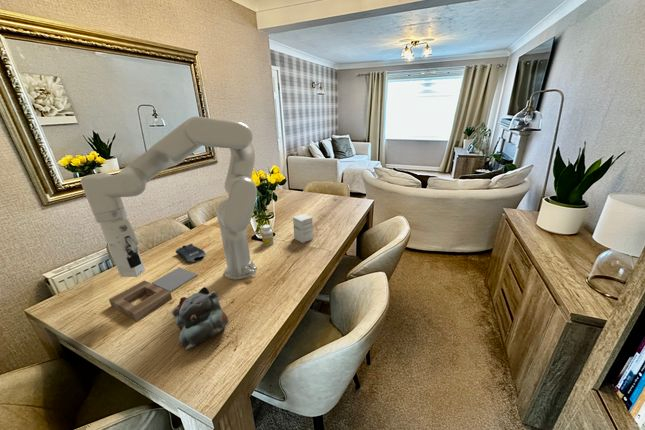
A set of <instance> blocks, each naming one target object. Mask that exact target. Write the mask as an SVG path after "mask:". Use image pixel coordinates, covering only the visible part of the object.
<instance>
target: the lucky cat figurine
mask: <svg viewBox="0 0 645 430" xmlns="http://www.w3.org/2000/svg"><path fill="white" fill-rule="evenodd" d="M178 302H179V303H178V305H177V306H176V307H174V309H172V311H171V313H172V316H173V317H175V318H174V322H175V325H176V326H177V327H178V328H179V332H180V333H179V336H178V342H179V343H180V345H182V346H183V347H185V348H184V350H189V349H191V348H193V347H196V345H198V344H200V343H202V342H204V341H206V340H208V339H210V338H212V337H214V336H215V335H217V334H218V333H220V332H221V331H222V330H224V328H225V327H226V326H227V325H228V323H229V319H228V316H227V314H226V313H225V312H224V311H223V309H222V307H221V303H220V300H219V295H218V293H217V292H216V291H215V290H214V291H211V292H210V290H209V289H208V288H207V287H205V286H203V287H202V288H201V289H200V290H198V292H195V293H193V294H192V295H190V296H188V297H186V296H182V297H181V298H180V299H179V301H178Z"/></svg>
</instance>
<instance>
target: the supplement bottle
mask: <svg viewBox="0 0 645 430" xmlns="http://www.w3.org/2000/svg"><path fill="white" fill-rule="evenodd" d="M261 229H262V230H261V238H262V245H263V246H265V247H267V246H271V245H273V244H274V234H273V233H274V232H273V230H272V227H271V224H264V225H262V227H261Z"/></svg>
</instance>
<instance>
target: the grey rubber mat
mask: <svg viewBox="0 0 645 430" xmlns="http://www.w3.org/2000/svg"><path fill="white" fill-rule="evenodd" d="M198 276H199V275H198V273H195V272H193V271H190V270H187V269H185V268H183V267H177V268H175V269H173V270H172V271H170V272H168V273H166V274H164V275H163V276H161V277H159V278H158V279H155V280H154V281H151V284H154V285H156V286H158V287H160V288H162V289H164V290H167V291H169V292H170V293H172V292H173V291H175V290H177V289H178V288H180V287H181V286H183V285H185V284H186V283H188V282H190V281H192V279H195V278H196V277H198Z"/></svg>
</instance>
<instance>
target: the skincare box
mask: <svg viewBox="0 0 645 430" xmlns="http://www.w3.org/2000/svg"><path fill="white" fill-rule="evenodd" d="M127 247H130V246H129V245H126V246H125V248H127ZM108 249H109V252H110V255H111V256H112V259H113V262H114V264H115V266H116V268H117V271H118V274H119V276H120V278H132V277H133V278H138V277H139V276H141V275H142V274H143V273H144V272H146V269H145V265H144V263H143V259H142V257H141V254H140V250H138V255H139V258H140V261H141V264H140V265H138V266H136V267H134V268H130V266H129V263H128V261H127V255H126V254H125V252H124V250H120V249H117V248H116V247H115V246H113V245H109V244H108ZM130 251H131V249H128V252H130Z"/></svg>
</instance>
